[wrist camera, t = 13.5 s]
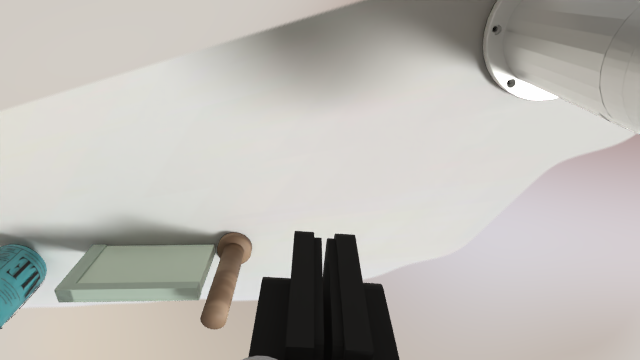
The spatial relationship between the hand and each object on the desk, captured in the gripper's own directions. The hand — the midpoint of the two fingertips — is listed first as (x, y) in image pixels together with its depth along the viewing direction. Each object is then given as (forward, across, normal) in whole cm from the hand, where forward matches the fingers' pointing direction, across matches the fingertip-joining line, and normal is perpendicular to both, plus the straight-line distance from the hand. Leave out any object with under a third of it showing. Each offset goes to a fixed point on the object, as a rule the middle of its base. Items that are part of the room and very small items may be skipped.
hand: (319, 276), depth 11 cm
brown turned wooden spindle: (+32, +8, +22) cm, 40 cm away
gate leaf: (+32, +18, +23) cm, 43 cm away
